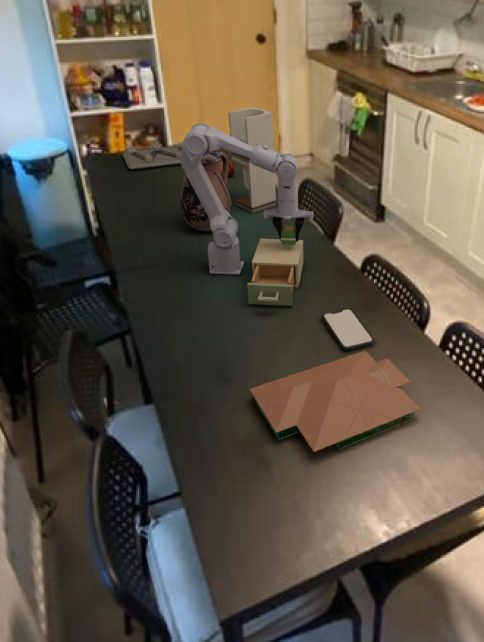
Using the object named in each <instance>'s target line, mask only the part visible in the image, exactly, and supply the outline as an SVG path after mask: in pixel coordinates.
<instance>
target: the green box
mask: <svg viewBox="0 0 484 642" xmlns="http://www.w3.org/2000/svg"><path fill="white" fill-rule="evenodd" d="M279 239H280V238H279ZM280 240H281V244H282V245H295V244H296V227H295V224H292V225H291V224H282V231H281V239H280Z"/></svg>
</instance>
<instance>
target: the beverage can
mask: <svg viewBox="0 0 484 642" xmlns="http://www.w3.org/2000/svg"><path fill="white" fill-rule="evenodd" d="M228 162H229V169H228V177H232V176H234V175H235V173H236V171H235V165H234V163H233V160H228ZM218 169H219V172H220V174H221V176H222V171H223V161H222V160H220V161H219V162H218Z"/></svg>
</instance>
